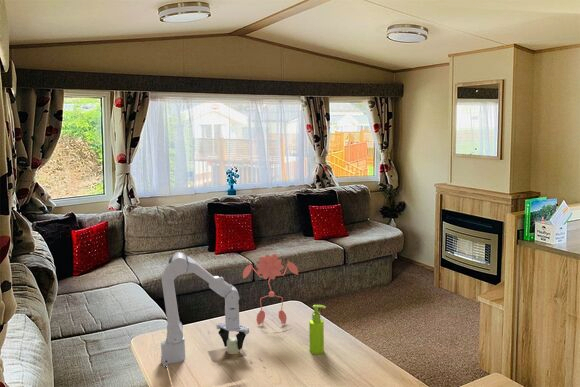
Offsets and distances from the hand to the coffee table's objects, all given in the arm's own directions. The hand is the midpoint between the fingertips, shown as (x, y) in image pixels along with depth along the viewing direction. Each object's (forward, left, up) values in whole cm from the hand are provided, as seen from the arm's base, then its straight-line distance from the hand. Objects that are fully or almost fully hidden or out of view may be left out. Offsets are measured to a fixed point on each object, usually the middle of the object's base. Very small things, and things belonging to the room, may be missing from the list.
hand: (233, 347), depth 203 cm
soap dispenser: (+33, -12, -3) cm, 35 cm away
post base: (-3, -1, -3) cm, 4 cm away
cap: (0, 0, -2) cm, 2 cm away
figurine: (+23, +19, -3) cm, 30 cm away
